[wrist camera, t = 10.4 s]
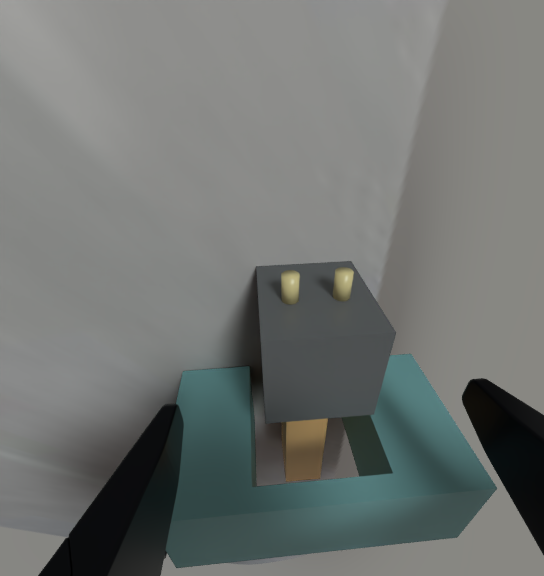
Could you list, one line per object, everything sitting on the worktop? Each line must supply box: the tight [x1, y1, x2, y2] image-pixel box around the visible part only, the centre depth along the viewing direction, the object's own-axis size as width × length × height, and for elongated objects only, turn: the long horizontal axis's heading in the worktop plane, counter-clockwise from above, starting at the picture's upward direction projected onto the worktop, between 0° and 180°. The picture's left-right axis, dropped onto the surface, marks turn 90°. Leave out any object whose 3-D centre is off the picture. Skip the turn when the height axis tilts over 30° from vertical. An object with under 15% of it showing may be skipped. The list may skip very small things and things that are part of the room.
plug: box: [256, 261, 396, 482], centre depth 14 cm, size 14×4×4 cm, turn 1°
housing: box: [166, 354, 497, 568], centre depth 14 cm, size 4×12×6 cm, turn 92°
